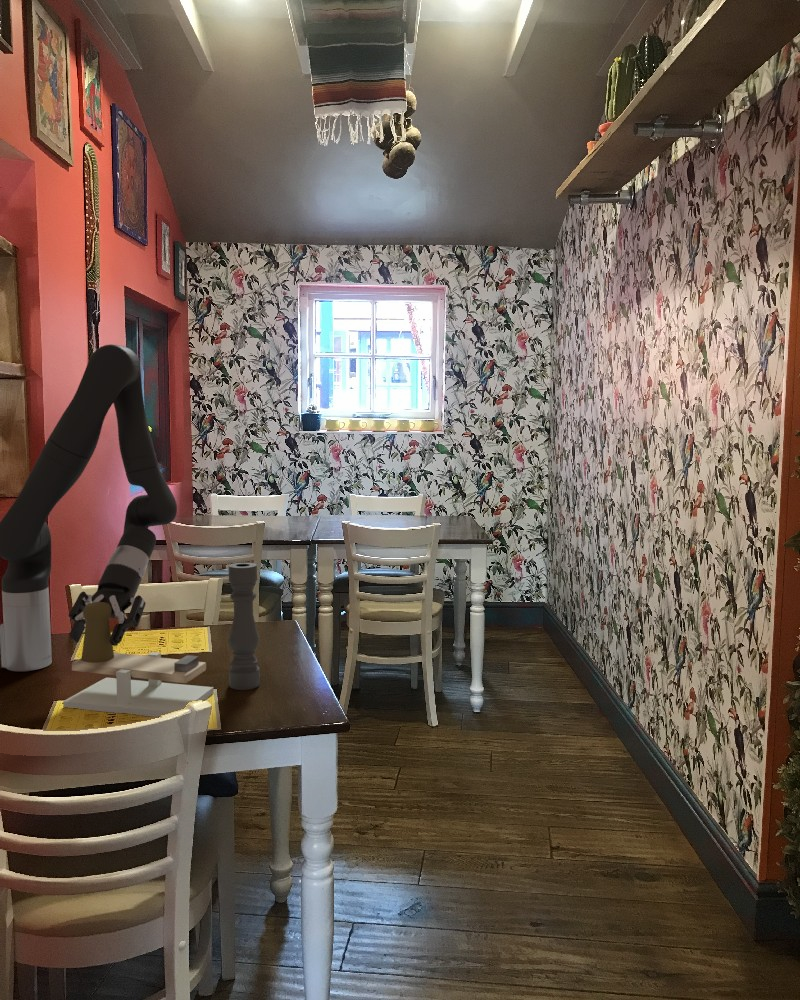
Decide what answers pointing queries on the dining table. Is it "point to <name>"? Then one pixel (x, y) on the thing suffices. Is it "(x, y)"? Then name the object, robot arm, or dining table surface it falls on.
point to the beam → (147, 667)
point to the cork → (97, 633)
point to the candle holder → (243, 628)
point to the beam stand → (137, 695)
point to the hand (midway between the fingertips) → (93, 642)
